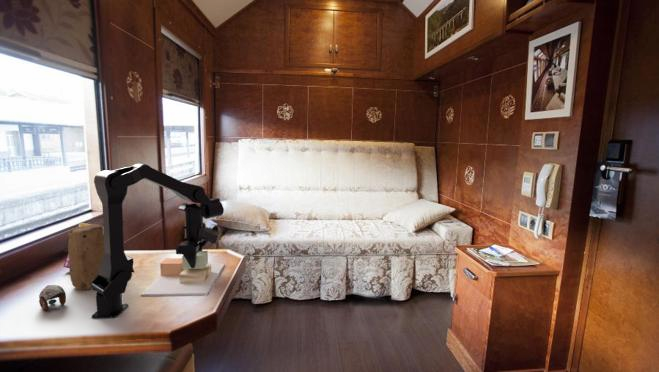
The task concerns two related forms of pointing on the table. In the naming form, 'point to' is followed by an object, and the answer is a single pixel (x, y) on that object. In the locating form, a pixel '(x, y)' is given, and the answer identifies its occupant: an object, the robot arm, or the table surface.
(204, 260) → the sage block
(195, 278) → the foundation slab
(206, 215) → the robot arm
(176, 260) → the terracotta block
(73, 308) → the table surface
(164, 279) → the baseplate
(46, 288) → the helmet
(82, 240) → the block
